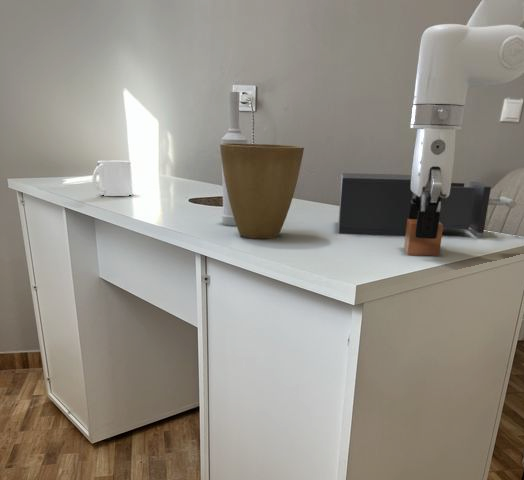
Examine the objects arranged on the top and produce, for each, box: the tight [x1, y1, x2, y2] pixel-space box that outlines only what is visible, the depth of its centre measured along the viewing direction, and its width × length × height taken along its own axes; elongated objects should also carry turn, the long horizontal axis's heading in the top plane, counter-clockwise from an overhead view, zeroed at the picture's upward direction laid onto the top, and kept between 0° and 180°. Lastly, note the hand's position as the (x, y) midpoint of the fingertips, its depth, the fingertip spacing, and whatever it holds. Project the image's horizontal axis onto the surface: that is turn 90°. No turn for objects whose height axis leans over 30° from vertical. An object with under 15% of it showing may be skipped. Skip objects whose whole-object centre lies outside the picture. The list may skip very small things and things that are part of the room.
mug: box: [91, 159, 134, 197], centre depth 158 cm, size 12×9×9 cm
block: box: [403, 219, 444, 257], centre depth 91 cm, size 5×5×5 cm
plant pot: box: [219, 142, 305, 239], centre depth 101 cm, size 15×15×16 cm
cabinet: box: [337, 172, 414, 237], centre depth 111 cm, size 15×13×10 cm
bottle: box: [220, 91, 248, 227], centre depth 111 cm, size 5×5×25 cm
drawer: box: [439, 181, 517, 234], centre depth 109 cm, size 19×12×8 cm, turn 83°
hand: (420, 232), depth 90 cm, fingers open, 9 cm apart
